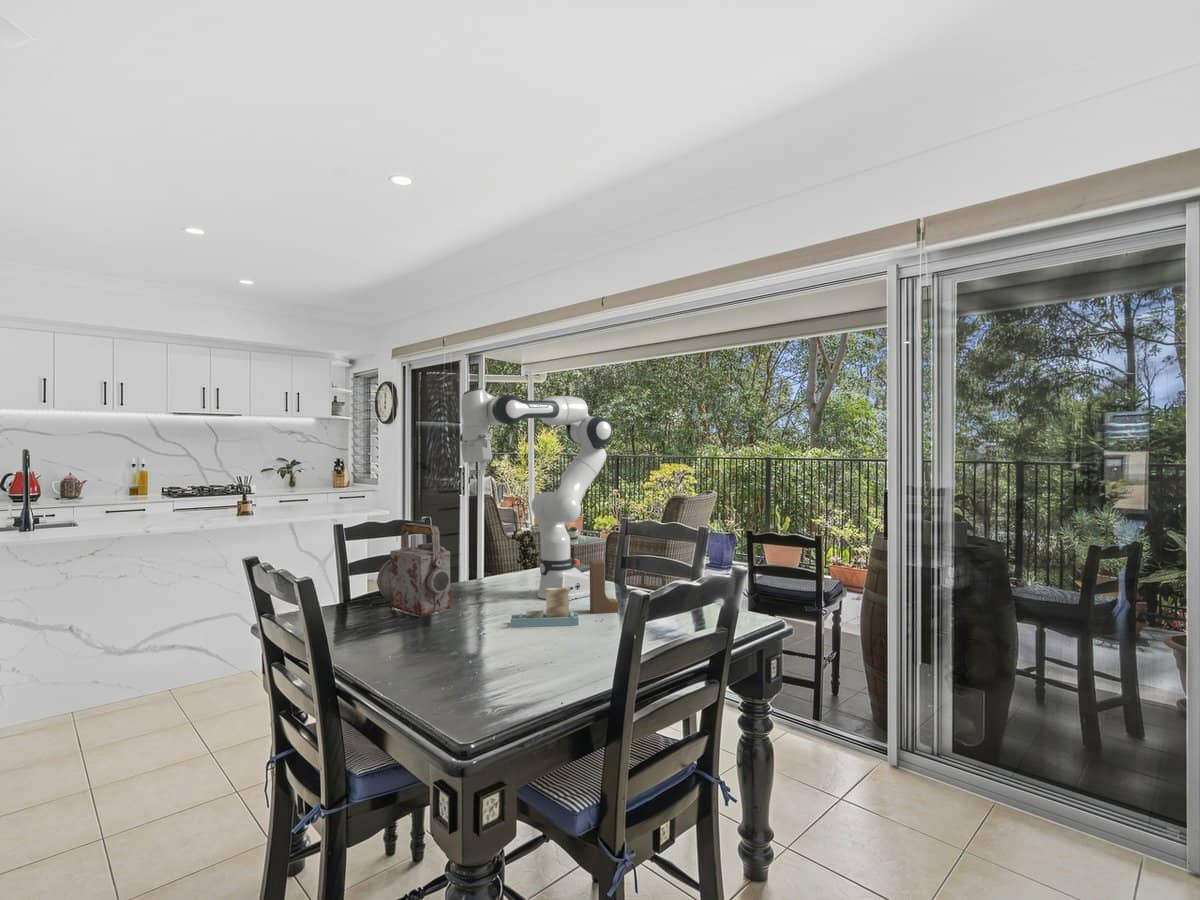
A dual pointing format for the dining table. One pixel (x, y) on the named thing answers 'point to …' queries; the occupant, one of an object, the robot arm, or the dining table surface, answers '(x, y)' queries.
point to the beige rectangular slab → (557, 602)
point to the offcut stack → (534, 614)
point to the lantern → (417, 574)
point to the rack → (544, 622)
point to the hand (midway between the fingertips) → (478, 475)
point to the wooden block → (600, 590)
